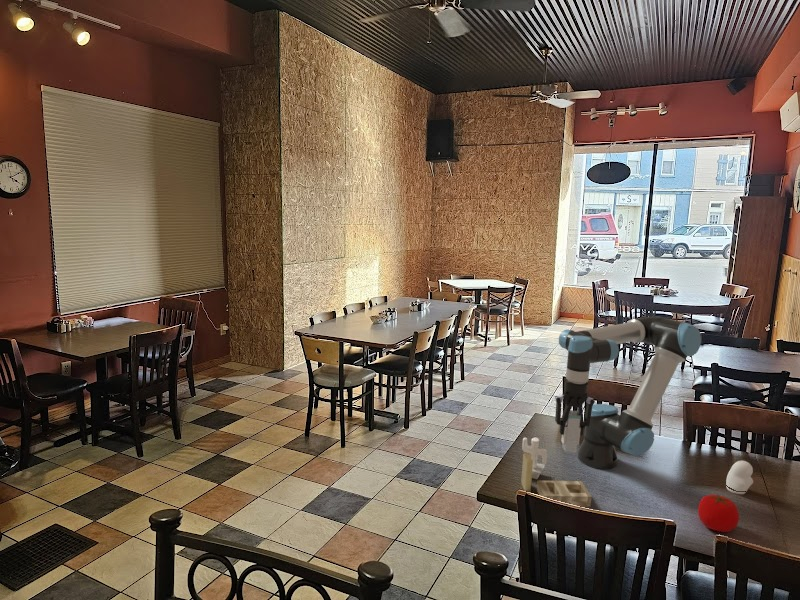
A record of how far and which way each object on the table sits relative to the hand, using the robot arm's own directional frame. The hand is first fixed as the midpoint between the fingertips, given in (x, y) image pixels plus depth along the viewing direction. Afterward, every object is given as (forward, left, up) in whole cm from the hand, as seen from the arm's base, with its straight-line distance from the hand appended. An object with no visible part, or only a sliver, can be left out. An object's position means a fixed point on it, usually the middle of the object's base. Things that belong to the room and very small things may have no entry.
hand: (570, 442), depth 188 cm
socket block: (+2, +4, -19) cm, 20 cm away
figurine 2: (-65, -3, -19) cm, 68 cm away
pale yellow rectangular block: (+14, -3, -19) cm, 24 cm away
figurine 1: (+9, -11, -19) cm, 24 cm away
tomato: (-43, +19, -19) cm, 51 cm away
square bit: (0, 0, -3) cm, 3 cm away
